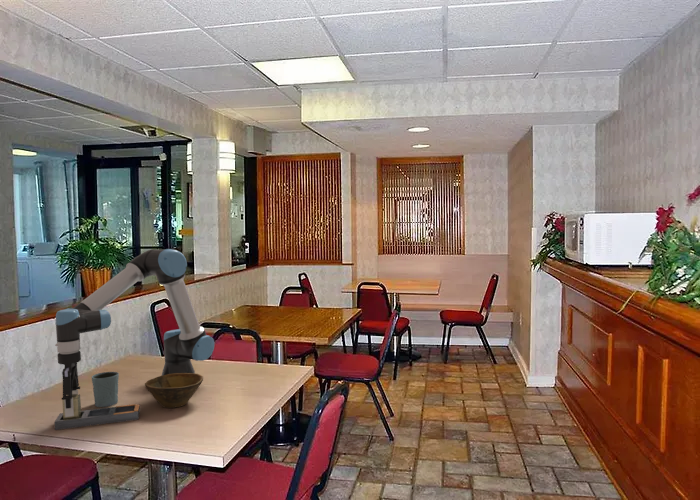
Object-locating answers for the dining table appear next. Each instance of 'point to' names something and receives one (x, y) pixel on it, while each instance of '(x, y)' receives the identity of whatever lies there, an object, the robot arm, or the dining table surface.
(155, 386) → the bowl
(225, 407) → the dining table surface
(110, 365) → the dining table surface
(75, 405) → the beige recessed-panel block
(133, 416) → the grey compartment tray
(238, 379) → the dining table surface
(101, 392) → the grey-green cup
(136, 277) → the robot arm
